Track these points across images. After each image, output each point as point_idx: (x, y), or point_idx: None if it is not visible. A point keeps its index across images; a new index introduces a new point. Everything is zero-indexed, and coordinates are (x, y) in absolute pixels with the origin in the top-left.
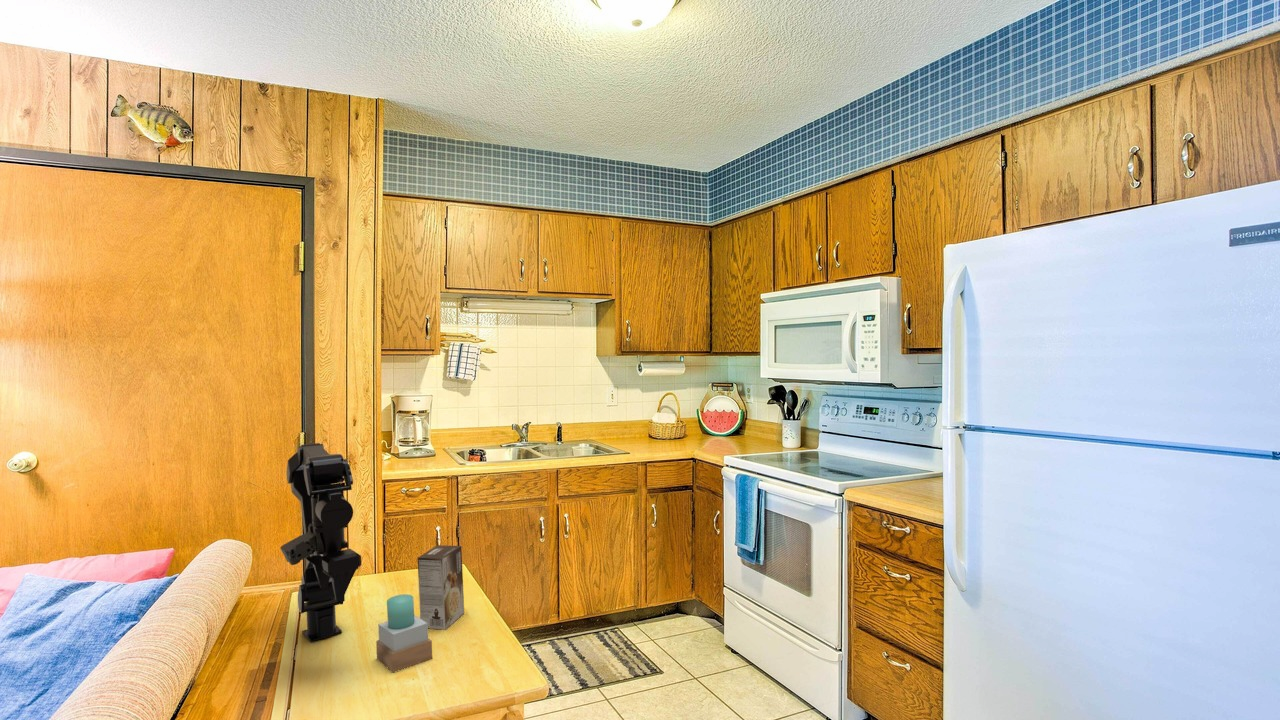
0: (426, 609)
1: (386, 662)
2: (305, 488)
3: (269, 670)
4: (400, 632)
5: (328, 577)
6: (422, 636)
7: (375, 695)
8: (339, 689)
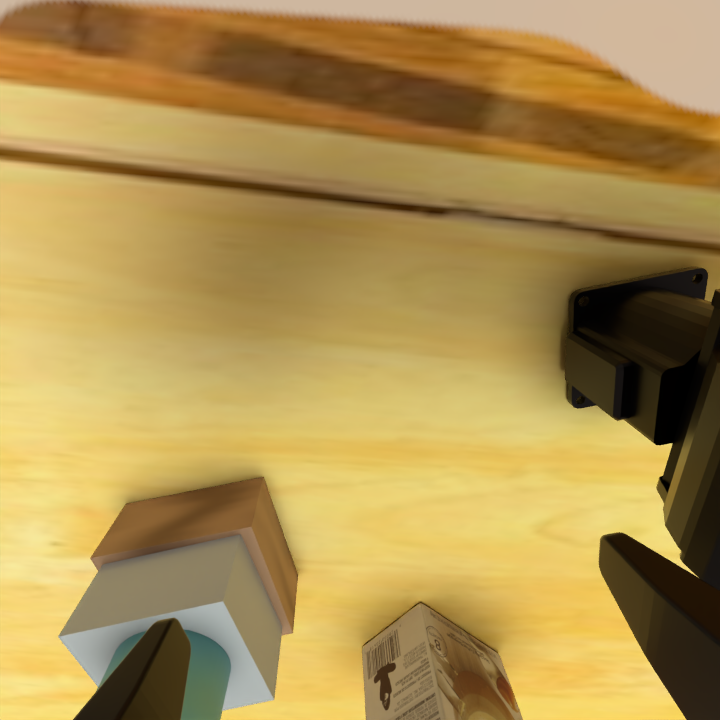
0: (414, 683)
1: (173, 505)
2: None
3: (402, 91)
4: (76, 655)
5: (677, 693)
6: None
7: None
8: (65, 345)
